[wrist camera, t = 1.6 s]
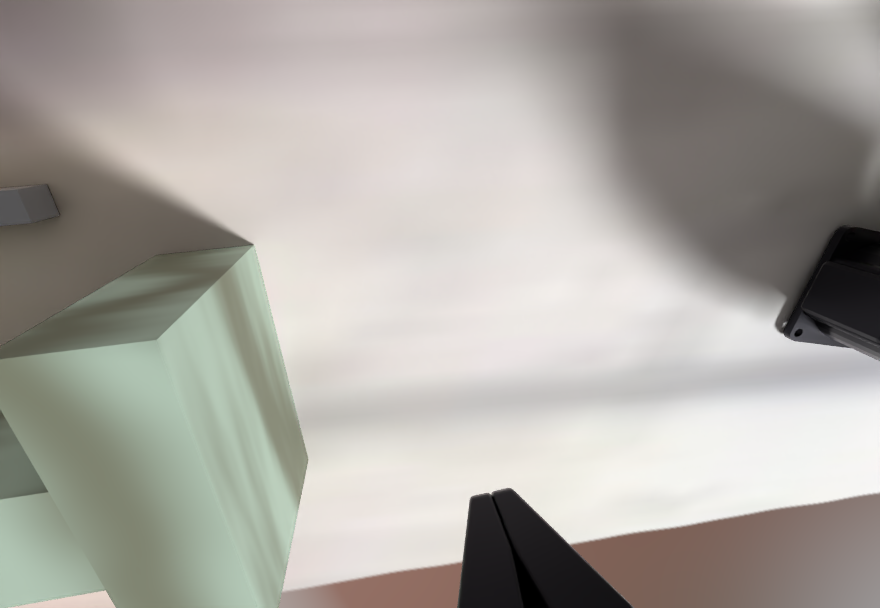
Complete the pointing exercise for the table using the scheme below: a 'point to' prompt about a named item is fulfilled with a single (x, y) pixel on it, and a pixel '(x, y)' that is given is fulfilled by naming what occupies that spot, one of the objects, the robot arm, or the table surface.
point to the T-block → (152, 443)
